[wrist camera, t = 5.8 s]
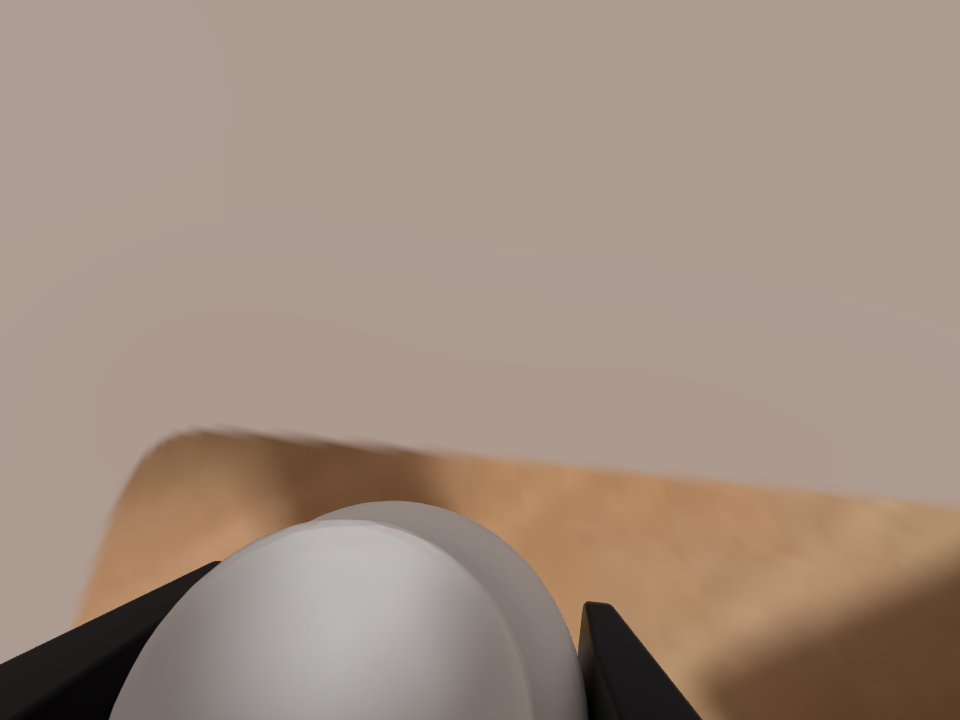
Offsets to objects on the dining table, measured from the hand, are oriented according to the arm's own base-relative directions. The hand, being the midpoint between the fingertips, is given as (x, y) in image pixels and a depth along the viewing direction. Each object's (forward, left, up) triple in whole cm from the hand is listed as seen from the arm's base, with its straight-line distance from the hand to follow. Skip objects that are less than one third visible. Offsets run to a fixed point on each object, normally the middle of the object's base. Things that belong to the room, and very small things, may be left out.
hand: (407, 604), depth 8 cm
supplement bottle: (-1, -1, -7) cm, 7 cm away
